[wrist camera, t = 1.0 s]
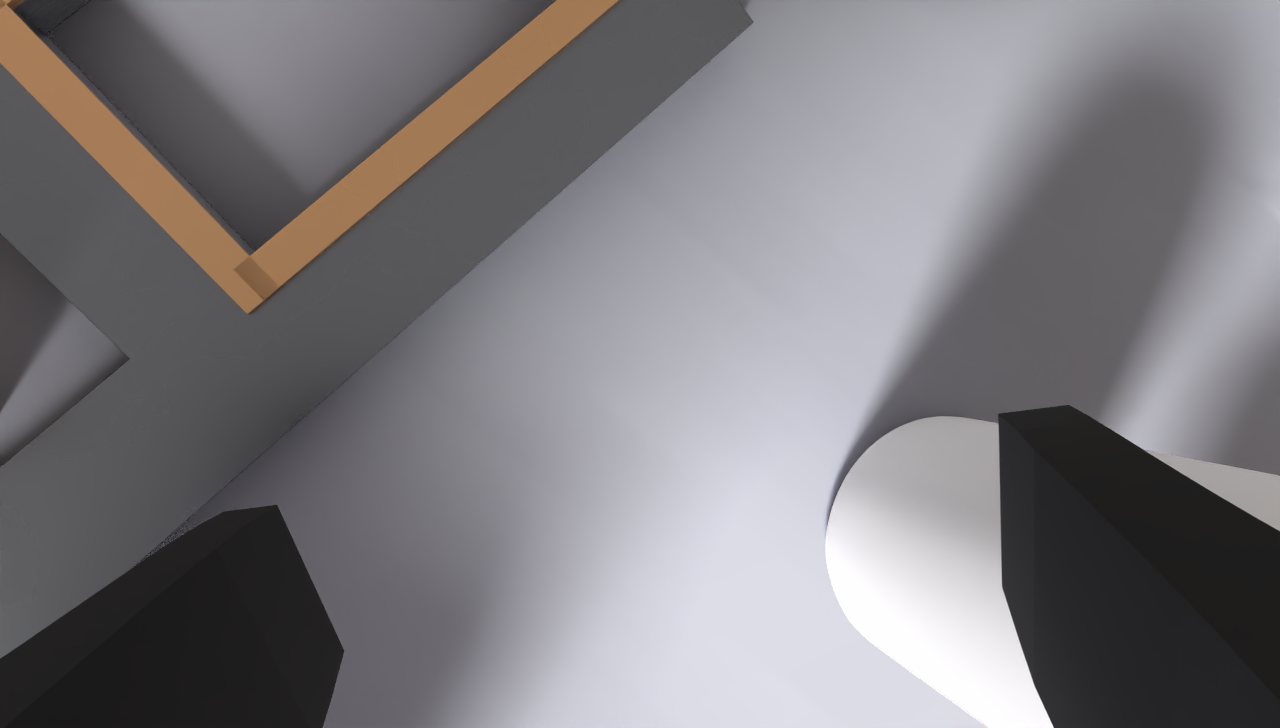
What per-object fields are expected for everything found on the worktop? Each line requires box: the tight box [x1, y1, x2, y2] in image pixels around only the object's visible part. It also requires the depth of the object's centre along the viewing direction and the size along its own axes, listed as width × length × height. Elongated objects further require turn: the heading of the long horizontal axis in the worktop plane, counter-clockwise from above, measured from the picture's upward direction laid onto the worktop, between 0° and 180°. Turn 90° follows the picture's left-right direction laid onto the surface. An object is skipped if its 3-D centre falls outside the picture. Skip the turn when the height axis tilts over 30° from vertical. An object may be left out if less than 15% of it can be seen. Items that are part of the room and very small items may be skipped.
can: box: [825, 416, 1280, 728], centre depth 18 cm, size 6×6×12 cm
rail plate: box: [0, 0, 753, 658], centre depth 17 cm, size 26×12×2 cm, turn 131°
